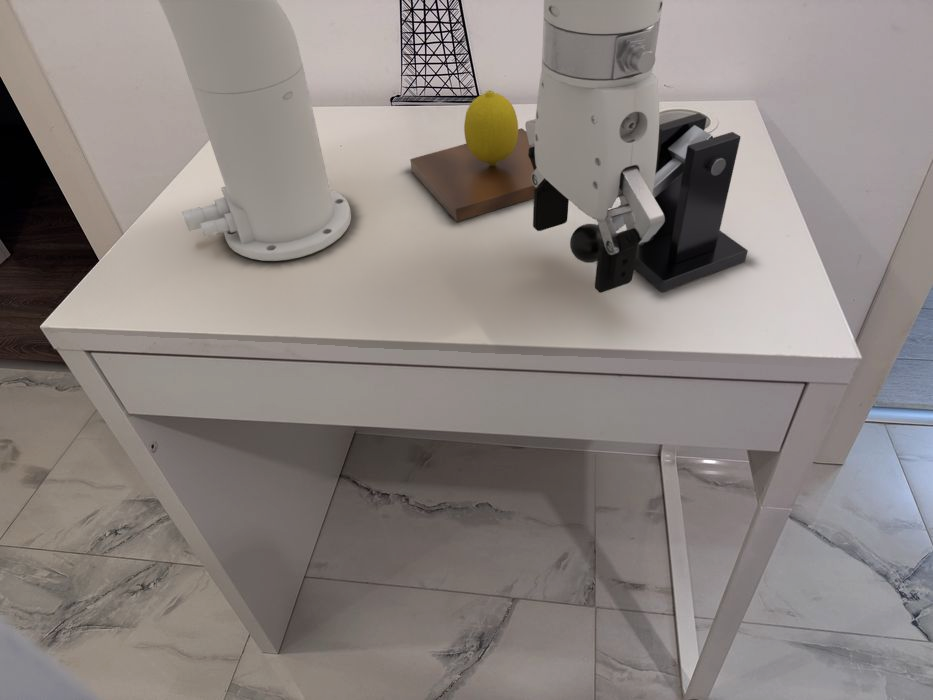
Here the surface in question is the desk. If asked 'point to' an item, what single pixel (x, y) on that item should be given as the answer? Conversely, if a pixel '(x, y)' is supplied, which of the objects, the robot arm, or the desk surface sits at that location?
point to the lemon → (491, 128)
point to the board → (476, 179)
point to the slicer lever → (589, 235)
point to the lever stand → (692, 210)
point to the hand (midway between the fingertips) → (579, 254)
